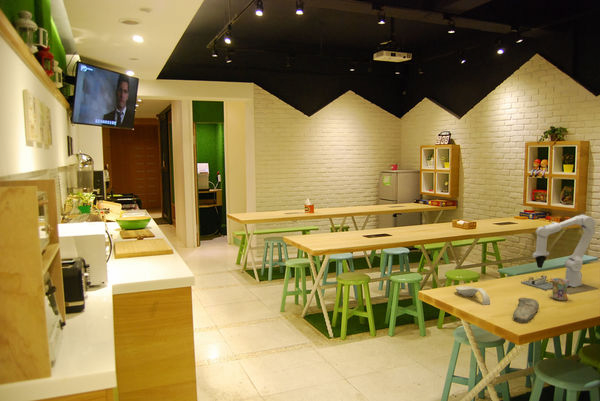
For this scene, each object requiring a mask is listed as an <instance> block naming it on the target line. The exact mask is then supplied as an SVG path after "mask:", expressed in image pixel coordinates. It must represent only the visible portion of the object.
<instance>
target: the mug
mask: <svg viewBox="0 0 600 401" xmlns="http://www.w3.org/2000/svg"><path fill="white" fill-rule="evenodd" d="M550 280H551V283H552V284H553V289H552V292H551V294H550V298H551V299H553V300H557V301H568V299H569V297H568V294H567V291H568V287H569V283H570V281H568V280H565V278H559V277H553V278H551V279H550Z"/></svg>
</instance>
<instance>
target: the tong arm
mask: <svg viewBox="0 0 600 401" xmlns="http://www.w3.org/2000/svg"><path fill="white" fill-rule="evenodd" d="M540 278H542V280H538V281H534V284H535V285H539V284H543V283H546V282H547V278H548V275H540Z"/></svg>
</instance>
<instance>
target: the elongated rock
mask: <svg viewBox="0 0 600 401" xmlns="http://www.w3.org/2000/svg"><path fill="white" fill-rule="evenodd" d="M517 301H518V304H517V307H516V308H515V310H514V312H512V315H513V316H512V319H513V320H514V321H515V322H516V323H520V324H526V323H528V322H530V321H531V320H532V319H533V318H534V317H535V315H536V314H537V311H538V310H539V308H540V307H539V302H538V300H536V299H535V298H528V297H520V298H518V299H517Z"/></svg>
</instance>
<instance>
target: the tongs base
mask: <svg viewBox="0 0 600 401" xmlns="http://www.w3.org/2000/svg"><path fill="white" fill-rule="evenodd" d="M538 280H542V277H538V278H534V279H533V280H530V281H529V283H530V284H534V281H538Z"/></svg>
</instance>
